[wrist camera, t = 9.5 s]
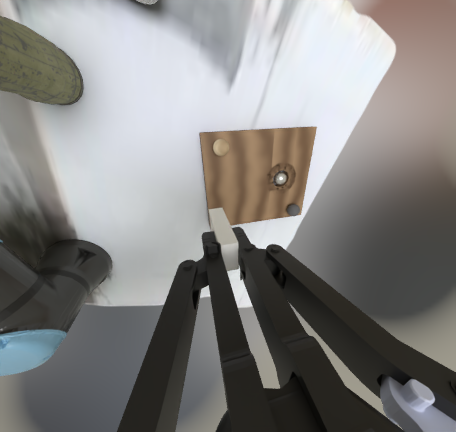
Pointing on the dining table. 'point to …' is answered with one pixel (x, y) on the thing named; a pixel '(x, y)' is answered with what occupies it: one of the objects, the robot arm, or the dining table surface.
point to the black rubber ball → (293, 210)
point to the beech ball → (221, 147)
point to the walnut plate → (257, 172)
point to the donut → (147, 1)
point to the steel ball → (280, 178)
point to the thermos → (36, 66)
